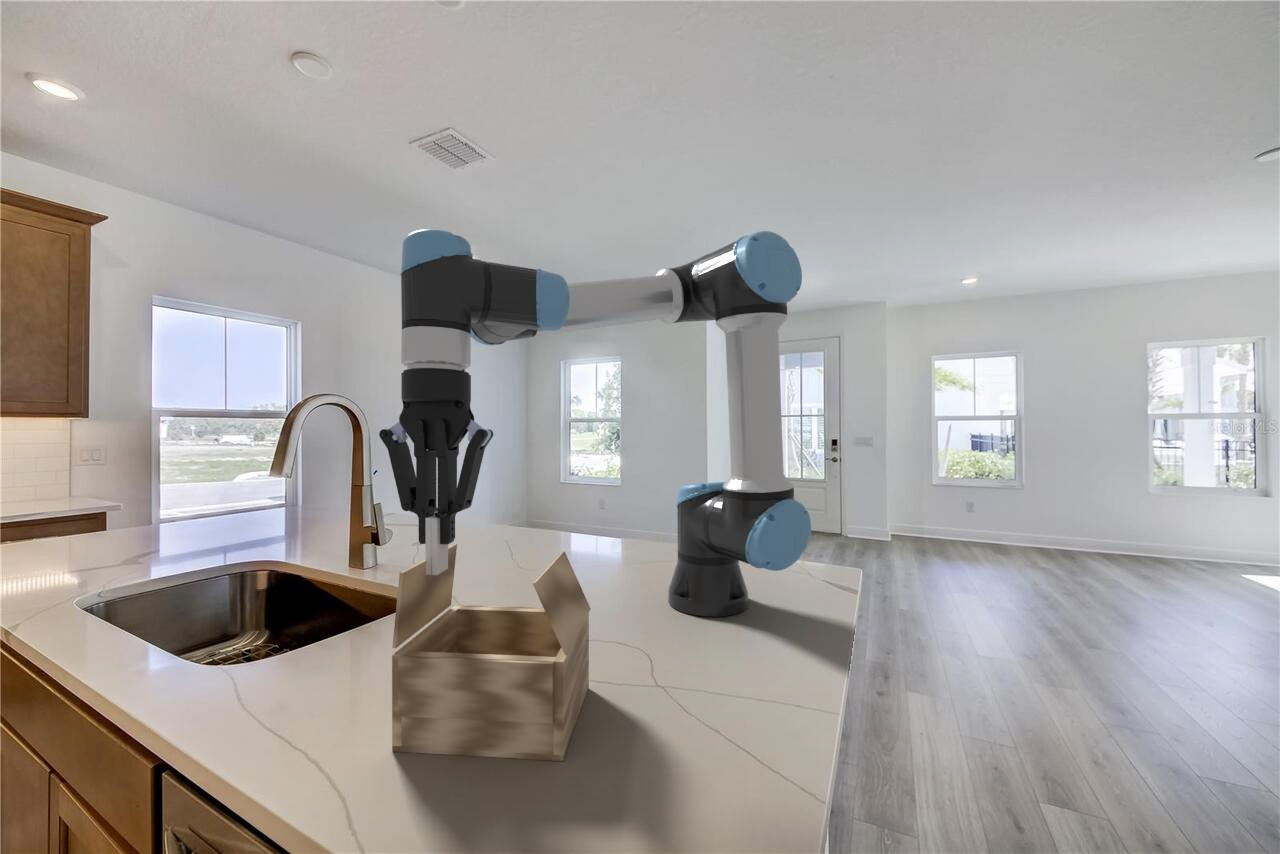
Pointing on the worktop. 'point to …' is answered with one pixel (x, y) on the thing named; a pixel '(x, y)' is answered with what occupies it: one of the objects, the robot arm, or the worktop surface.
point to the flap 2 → (562, 601)
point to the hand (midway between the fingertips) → (437, 571)
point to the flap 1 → (422, 597)
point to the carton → (489, 685)
